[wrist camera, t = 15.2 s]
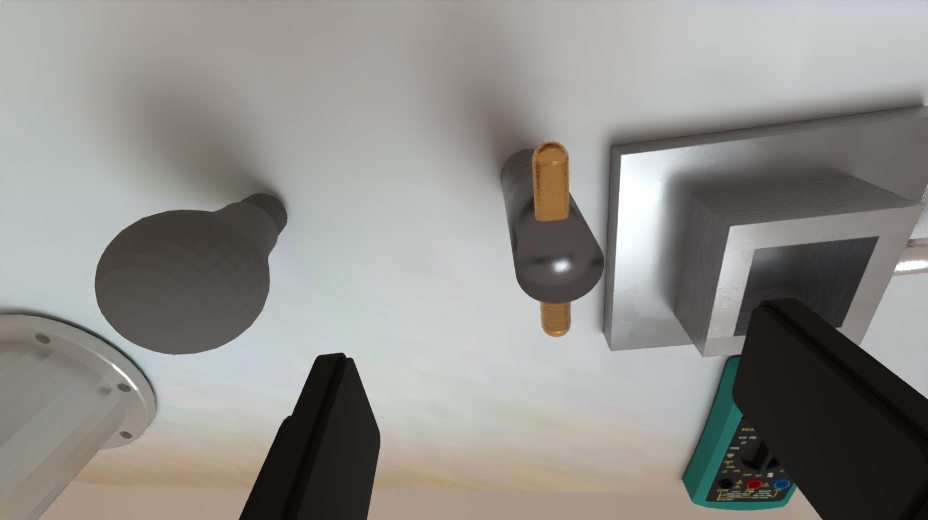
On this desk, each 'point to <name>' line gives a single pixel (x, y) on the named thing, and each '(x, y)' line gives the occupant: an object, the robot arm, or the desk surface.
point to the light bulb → (190, 275)
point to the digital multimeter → (735, 460)
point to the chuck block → (762, 227)
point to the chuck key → (549, 234)
